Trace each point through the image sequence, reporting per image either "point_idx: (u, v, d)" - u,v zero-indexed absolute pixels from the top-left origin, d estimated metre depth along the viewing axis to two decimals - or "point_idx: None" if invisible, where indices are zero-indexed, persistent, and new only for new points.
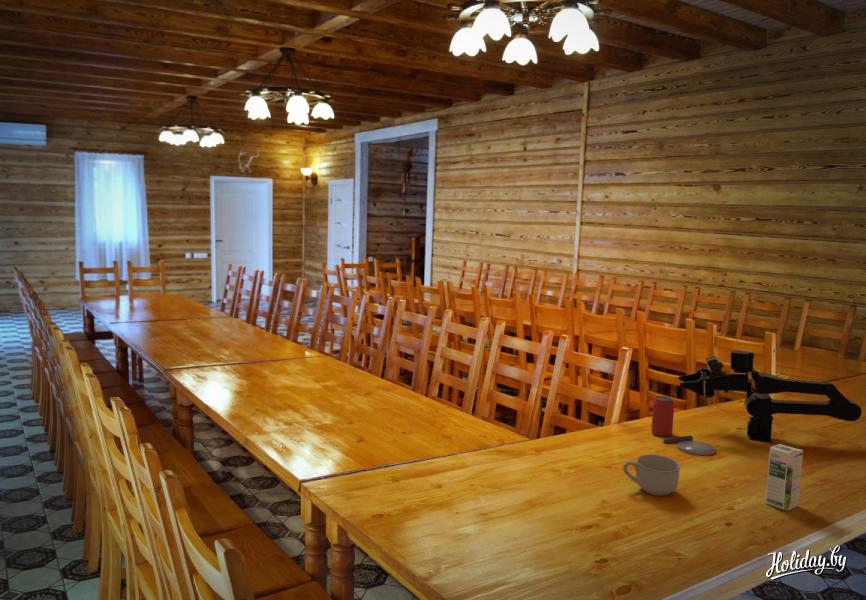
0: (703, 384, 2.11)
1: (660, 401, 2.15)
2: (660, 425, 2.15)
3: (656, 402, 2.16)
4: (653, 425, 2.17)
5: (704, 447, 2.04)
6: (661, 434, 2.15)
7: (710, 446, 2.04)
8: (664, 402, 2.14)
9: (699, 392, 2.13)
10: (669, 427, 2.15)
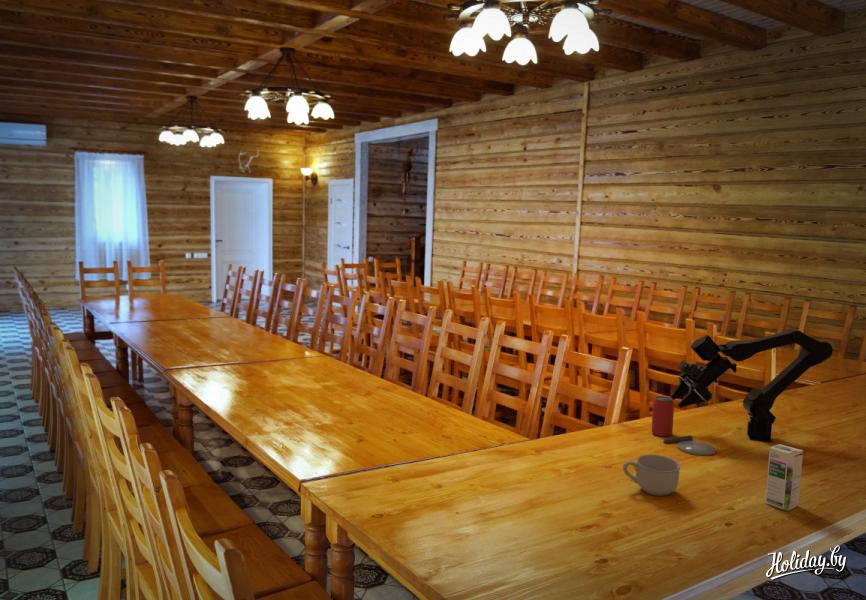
0: (696, 393, 2.08)
1: (660, 401, 2.15)
2: (660, 425, 2.15)
3: (656, 402, 2.16)
4: (653, 425, 2.17)
5: (704, 447, 2.04)
6: (661, 434, 2.15)
7: (710, 446, 2.04)
8: (664, 402, 2.14)
9: (698, 401, 2.09)
10: (669, 427, 2.15)
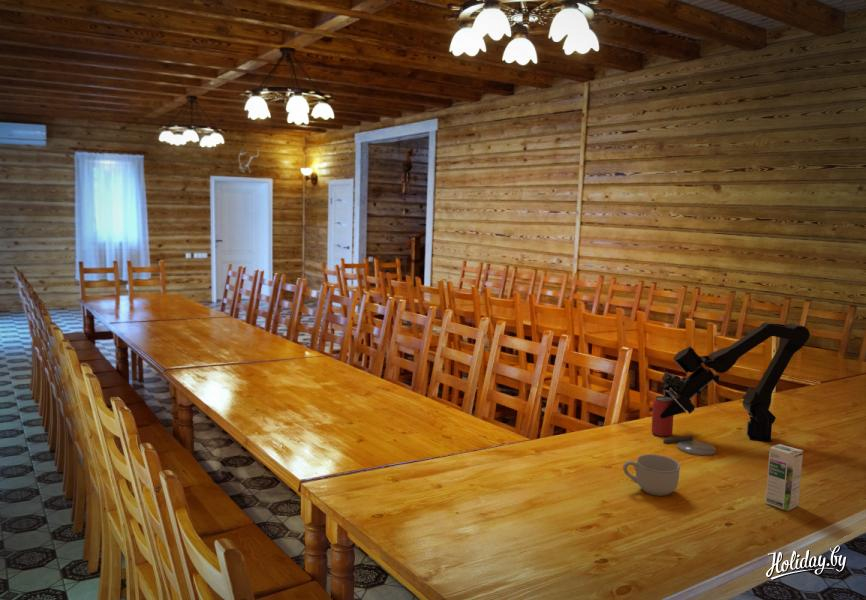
0: (678, 404, 2.10)
1: (660, 401, 2.15)
2: (660, 425, 2.15)
3: (656, 402, 2.16)
4: (653, 425, 2.17)
5: (704, 447, 2.04)
6: (661, 434, 2.15)
7: (710, 446, 2.04)
8: (664, 402, 2.14)
9: (680, 411, 2.11)
10: (669, 427, 2.15)
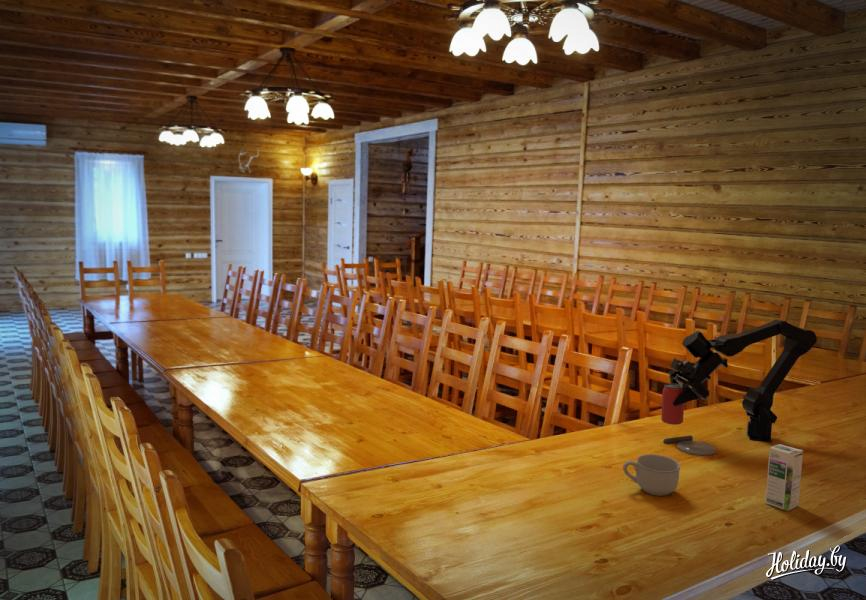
0: (692, 390, 2.04)
1: (672, 388, 2.09)
2: (672, 413, 2.09)
3: (667, 390, 2.10)
4: (664, 414, 2.11)
5: (704, 447, 2.04)
6: (673, 422, 2.09)
7: (710, 446, 2.04)
8: (676, 389, 2.08)
9: (693, 398, 2.06)
10: (681, 414, 2.09)
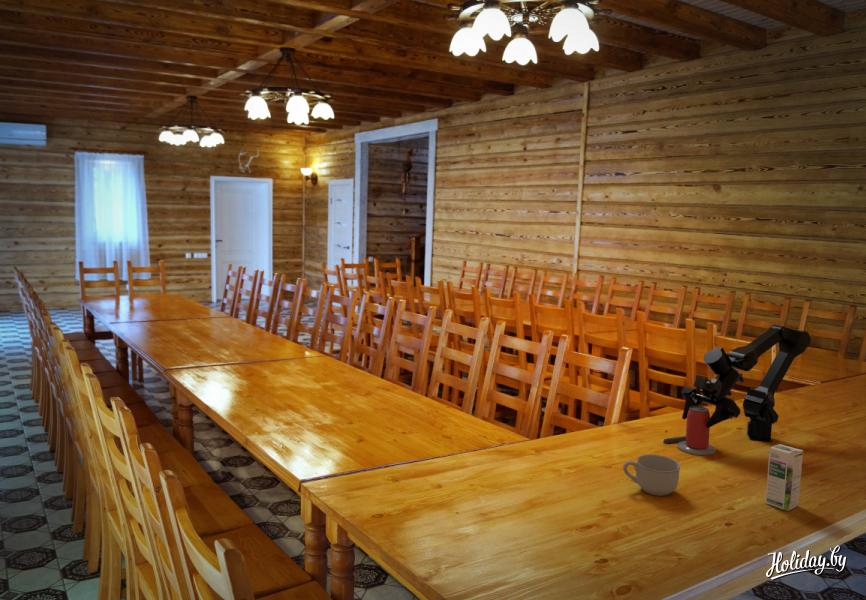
0: (727, 410, 1.96)
1: (701, 412, 2.00)
2: (701, 438, 2.00)
3: (696, 414, 2.00)
4: (692, 439, 2.01)
5: None
6: (702, 447, 2.01)
7: (710, 446, 2.04)
8: (705, 413, 2.00)
9: (725, 418, 1.98)
10: (708, 438, 2.01)
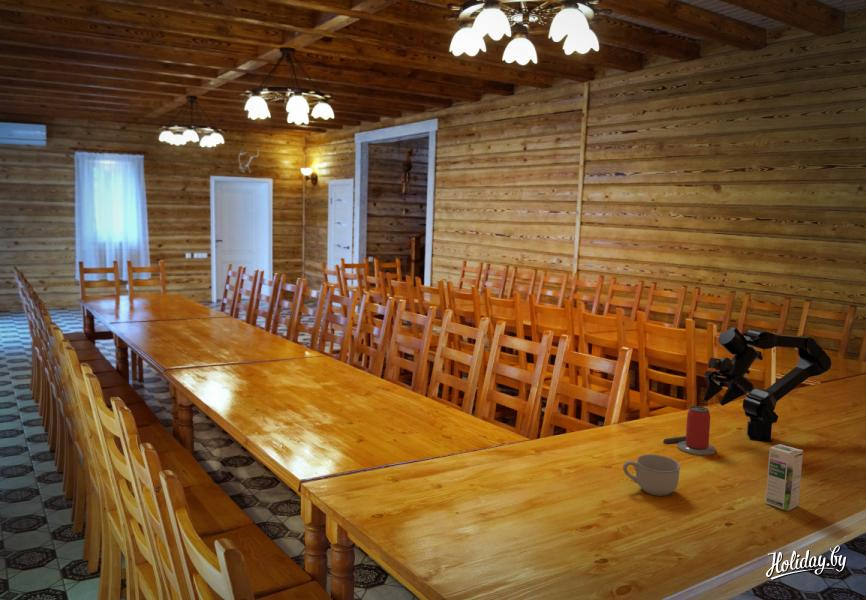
0: (738, 386, 2.01)
1: (701, 412, 2.00)
2: (701, 438, 2.00)
3: (696, 414, 2.00)
4: (692, 439, 2.01)
5: None
6: (702, 447, 2.01)
7: (710, 446, 2.04)
8: (705, 413, 2.00)
9: (740, 394, 2.03)
10: (708, 438, 2.01)
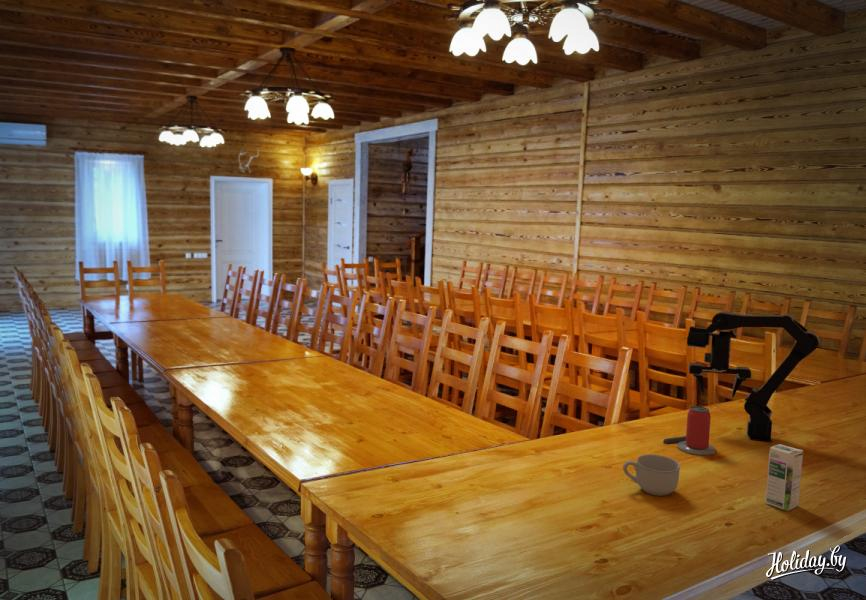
0: None
1: (701, 412, 2.00)
2: (701, 438, 2.00)
3: (696, 414, 2.00)
4: (692, 439, 2.01)
5: None
6: (702, 447, 2.01)
7: (710, 446, 2.04)
8: (705, 413, 2.00)
9: None
10: (708, 438, 2.01)
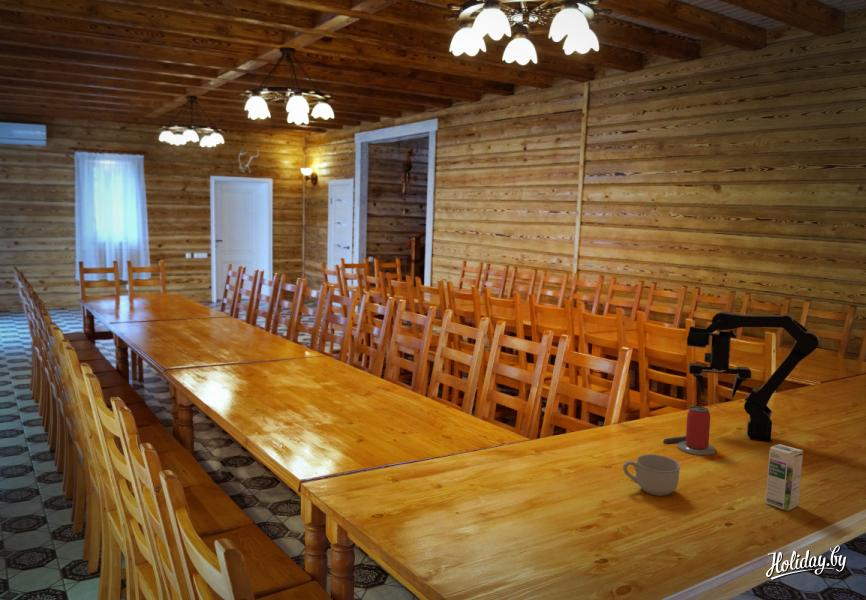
0: None
1: (701, 412, 2.00)
2: (701, 438, 2.00)
3: (696, 414, 2.00)
4: (692, 439, 2.01)
5: None
6: (702, 447, 2.01)
7: (710, 446, 2.04)
8: (705, 413, 2.00)
9: None
10: (708, 438, 2.01)
